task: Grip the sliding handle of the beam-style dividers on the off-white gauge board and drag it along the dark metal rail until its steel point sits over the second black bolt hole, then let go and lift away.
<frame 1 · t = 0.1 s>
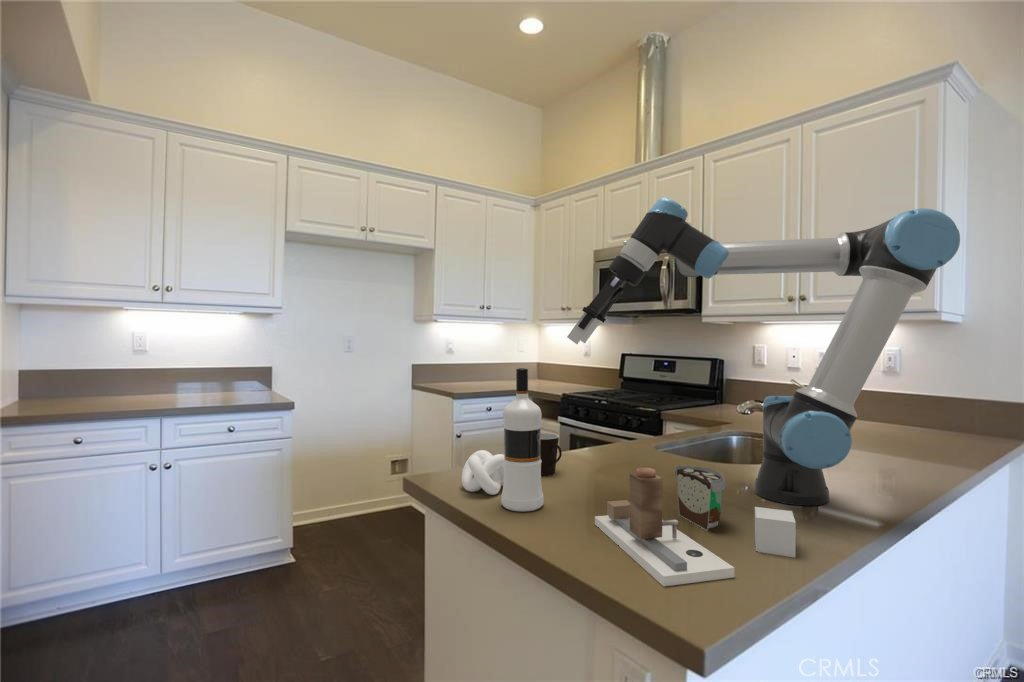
hand: (576, 340, 118), 36 cm above the table, tool tilted 35°, fingers open, 13 cm apart
sliding handle: (656, 504, 89), point 8 cm above the table, slide at 0.0 cm
white decorative knot: (488, 491, 124), on the table
gauge board: (655, 547, 90), on the table
vodka: (522, 506, 113), on the table
coffee mug: (543, 475, 138), on the table
white cube: (774, 549, 90), on the table
food container: (705, 522, 103), on the table
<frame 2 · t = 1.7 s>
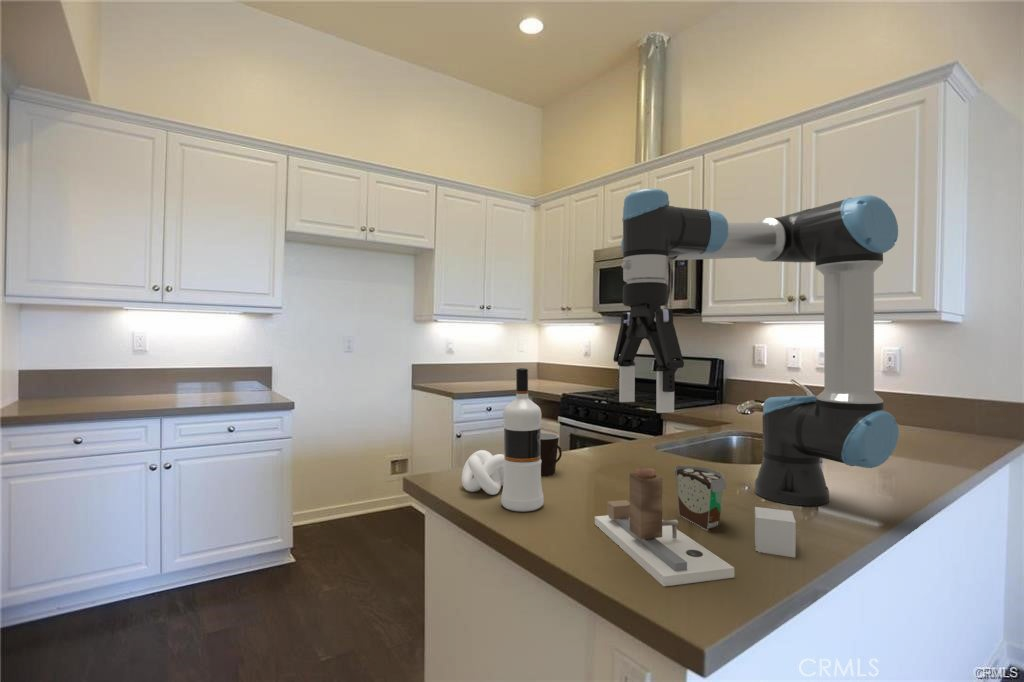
hand: (644, 406, 89), 25 cm above the table, tool pointing down, fingers open, 13 cm apart
nothing on the table moved.
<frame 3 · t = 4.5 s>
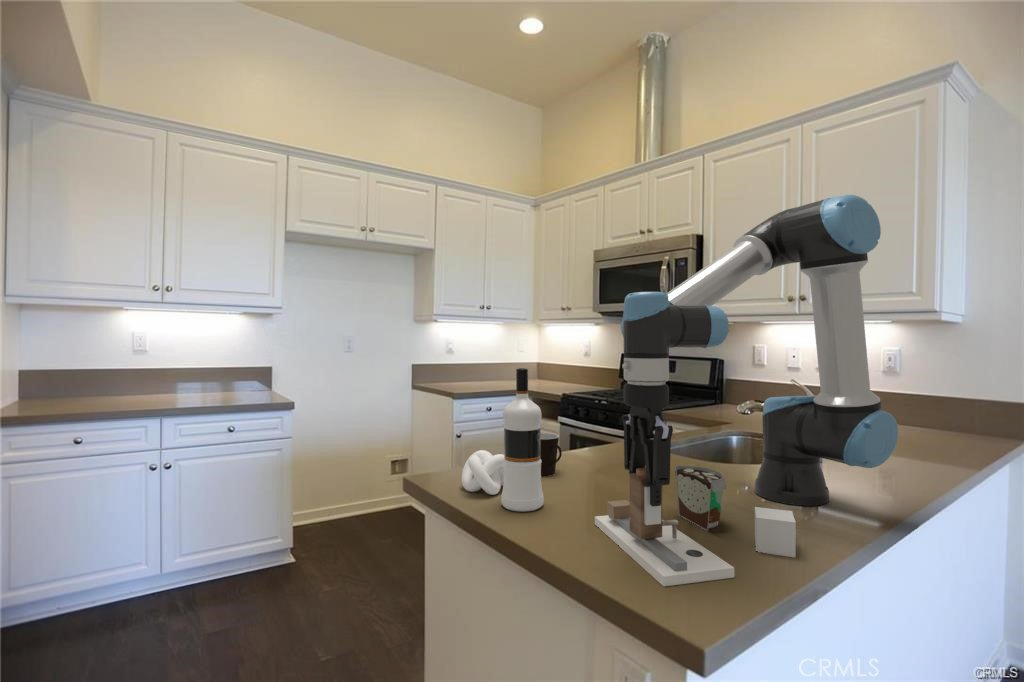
hand: (645, 518, 89), 6 cm above the table, tool pointing down, fingers closed on sliding handle, 4 cm apart
sliding handle: (656, 504, 89), point 8 cm above the table, slide at 0.0 cm, touching gripper
everything else where it was.
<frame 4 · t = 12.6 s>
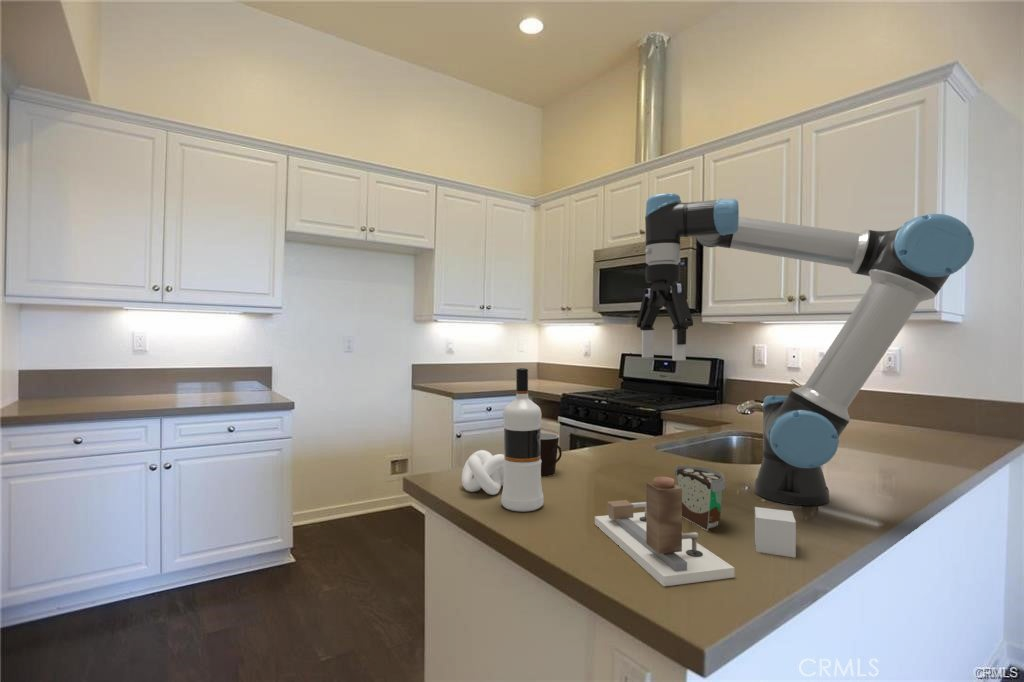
hand: (662, 359, 117), 32 cm above the table, tool pointing down, fingers open, 13 cm apart
sliding handle: (675, 516, 83), point 8 cm above the table, slide at 6.0 cm
everything else where it was.
at the end: sliding handle slide at 6.0 cm; the gripper is holding nothing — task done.
